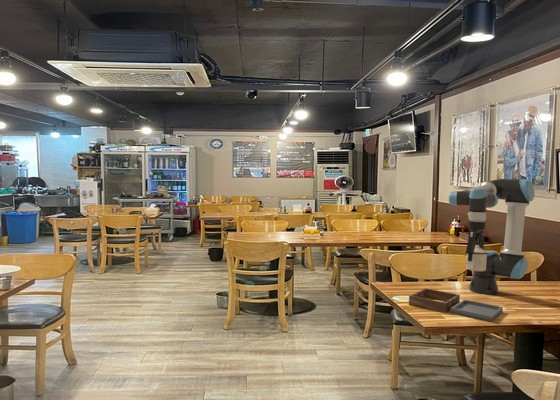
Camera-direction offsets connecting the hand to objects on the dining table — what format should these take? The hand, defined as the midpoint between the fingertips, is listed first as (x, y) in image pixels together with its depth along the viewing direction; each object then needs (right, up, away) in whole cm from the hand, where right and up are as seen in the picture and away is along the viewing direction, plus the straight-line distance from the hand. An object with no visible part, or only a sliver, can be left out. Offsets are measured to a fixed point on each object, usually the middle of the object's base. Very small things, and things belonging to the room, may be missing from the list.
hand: (474, 266), depth 205 cm
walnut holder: (-15, -21, +12) cm, 28 cm away
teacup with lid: (0, -2, 0) cm, 2 cm away
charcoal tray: (+1, -22, 0) cm, 22 cm away
